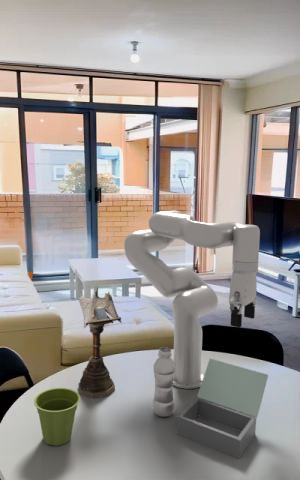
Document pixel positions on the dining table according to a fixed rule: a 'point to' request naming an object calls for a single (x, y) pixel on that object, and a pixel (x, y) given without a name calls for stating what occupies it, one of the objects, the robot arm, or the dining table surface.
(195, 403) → the grey open box
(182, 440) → the dining table surface
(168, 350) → the plastic bottle
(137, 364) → the dining table surface
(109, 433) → the dining table surface
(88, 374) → the ornate pedestal stand
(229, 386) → the cover
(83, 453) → the dining table surface
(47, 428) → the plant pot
